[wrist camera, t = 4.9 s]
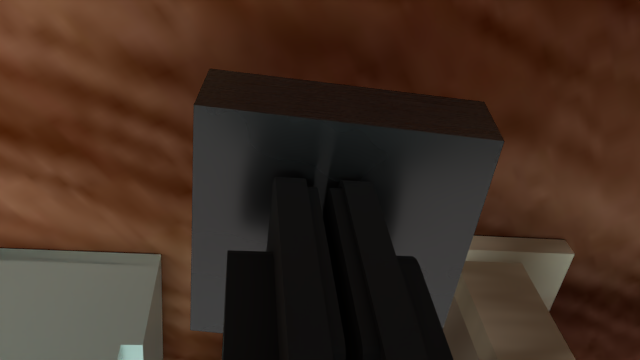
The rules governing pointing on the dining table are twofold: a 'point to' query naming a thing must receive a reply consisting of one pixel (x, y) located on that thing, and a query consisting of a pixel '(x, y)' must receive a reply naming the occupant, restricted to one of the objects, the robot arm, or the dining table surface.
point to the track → (335, 171)
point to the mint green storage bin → (80, 305)
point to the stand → (508, 300)
